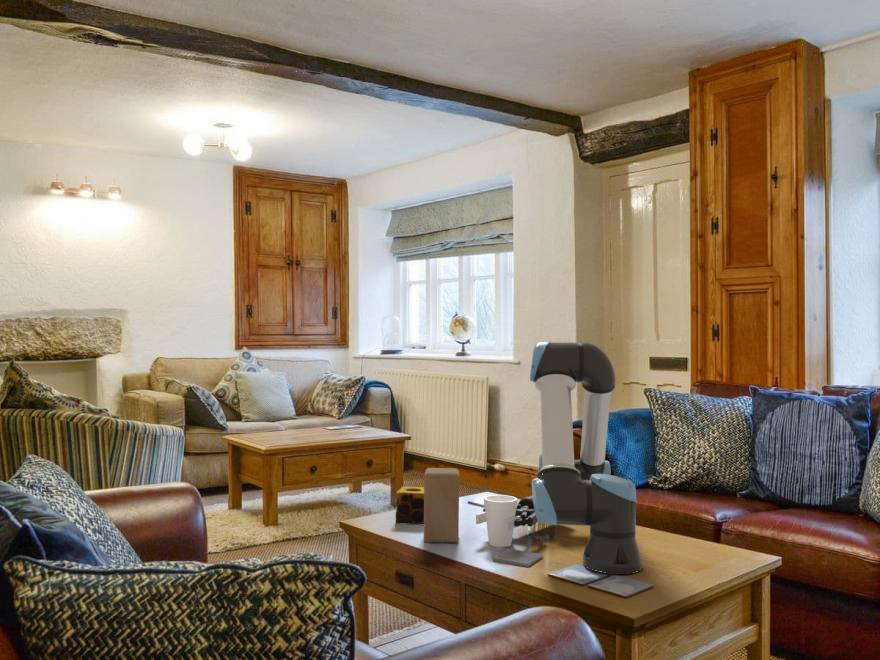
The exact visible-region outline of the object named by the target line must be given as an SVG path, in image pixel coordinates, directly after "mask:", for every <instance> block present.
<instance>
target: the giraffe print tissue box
mask: <svg viewBox="0 0 880 660" xmlns="http://www.w3.org/2000/svg"><path fill="white" fill-rule="evenodd" d="M395 494H396V496H395V497H396V502H395V505H396V509H395V510H396V511H395V523H396V524H399V523H409V524H408V525H419V524H424V486H402V487H400V489H398V490H397V491H396V493H395Z"/></svg>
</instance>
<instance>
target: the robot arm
mask: <svg viewBox="0 0 880 660" xmlns="http://www.w3.org/2000/svg"><path fill="white" fill-rule="evenodd" d="M531 359H532V360H531V366H530V368H531V369H530V377H529V380H530V382H532V383H534V387H535V389H536V390H537V391H538V392H540V414H541V415H540V418H541V420H540V421H541V422H540V423H541V427H540V428H541V453H540V455H539V457H538V472H537V474H536V477H535V478H532V480H531V492H532V495H529V496H526V497H523V498H521V499H519V501H518V502H517V508H516V514H515V517H514V518H511V519H507V520H505V530H510V529H513V528H514V529H515V528H518V527H521V526H522V527H525V526H526V525H527V527H530V528H531V527H533V526H534V525H536V523H538V522H539V523H540V524H544V525H553V526H557V525H558V526H559V525H560V526H589V538H588V540H587V543H586V545H585V549H584V551H583V553H582V554H583V555H582V565H583V567H584V568H586V567H588V568H590V569H593V570H597V571H602V572H606V573H609V574H608V575H615V574H624V575H628V574H627V573H633V572H636V571H639V570H640V569H641V568H642V569H643V558H642V554H641V552H640V547H639V546H638V542H637V537H636V527H637V525H636V524H637V523H636V519H637V501H638V499H637V491H636V490H637V489H636V485H635V484H634V483H633V482H632V481H631V480H629V479H627V478H626V477H625V478H624V477H621V476H616V475H611V473H612V472H611V470H612V469H611V468H612V467H611V463H610V461H608V460H606V450H607V439H608V430H609V429H608V427H609V415H610V405H611V404H610V403H611V396H612V395H611V393H612V392H614V390H615V388H616V373H615V369H614V367H613V366H614V365H613V364H612V362H611V360H610V358H609V357H608V355H607V354H606V353H605V352H604V350H603V349H602V348H600V347H599V346H597V345H595V344H593V343H590V342H585V341H584V342H583V341H582V342H570V341H569V342H567V341H566V342H554V341H553V342H551V341H545V342H544V341H543V342H541V341H540V342H537V343H535V345H534V346H533V351H532V358H531ZM577 383H581V388H582V389H583V390H584V398H583V399H584V400H583V412H582V424H581V425H582V427H581V439H580V440H581V442H580V456H579V457H580V458H579V459H575V453H574V451H575V448H574V446H575V445H574V431H573V430H574V428H573V427H574V426H573V413H572V412H573V407H572V391H574V389H575V388H576V386H577ZM542 473H543V475H542ZM541 476H542V477H541ZM543 479H544V480H543ZM483 523H487V522H486V513H485V507H484V508H483V509H482V512H480V513H476V514H475V525H480V524H483ZM514 529H513V530H514ZM588 568H587V569H588ZM590 569H589V570H590ZM639 572H640V571H639ZM633 574H634V573H633Z"/></svg>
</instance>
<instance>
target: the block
mask: <svg viewBox="0 0 880 660" xmlns="http://www.w3.org/2000/svg"><path fill="white" fill-rule="evenodd" d="M423 483H424V484H423V485H424V486H423V487H424V525H423V540H424V542H425V543H428V542H442V543H441V544H446V543H447V544H456V543H458V542H459V531H460V529H459V527H460V526H459V523H460V521H459V520H460V512H459V511H460V470H459V469H458V468H456V467H454V468H453V467H451V468H450V467H447V468H446V467H427V468H426V469H425V473H424V482H423Z"/></svg>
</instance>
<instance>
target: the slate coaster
mask: <svg viewBox="0 0 880 660" xmlns="http://www.w3.org/2000/svg"><path fill="white" fill-rule="evenodd" d="M543 555H544V554H542V553H538V552H530V551H525V550H518V549H511V548H508V549H506V550H504V551H502V552H500V553H499V554H497V555H496V556H494V557H493V562H497V563H503V564H509V565H514V566H521V567H526V568H529V567H531V566H532V565H533V564H535V563H536V562H539V560H541V559H542V558H543Z"/></svg>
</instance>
